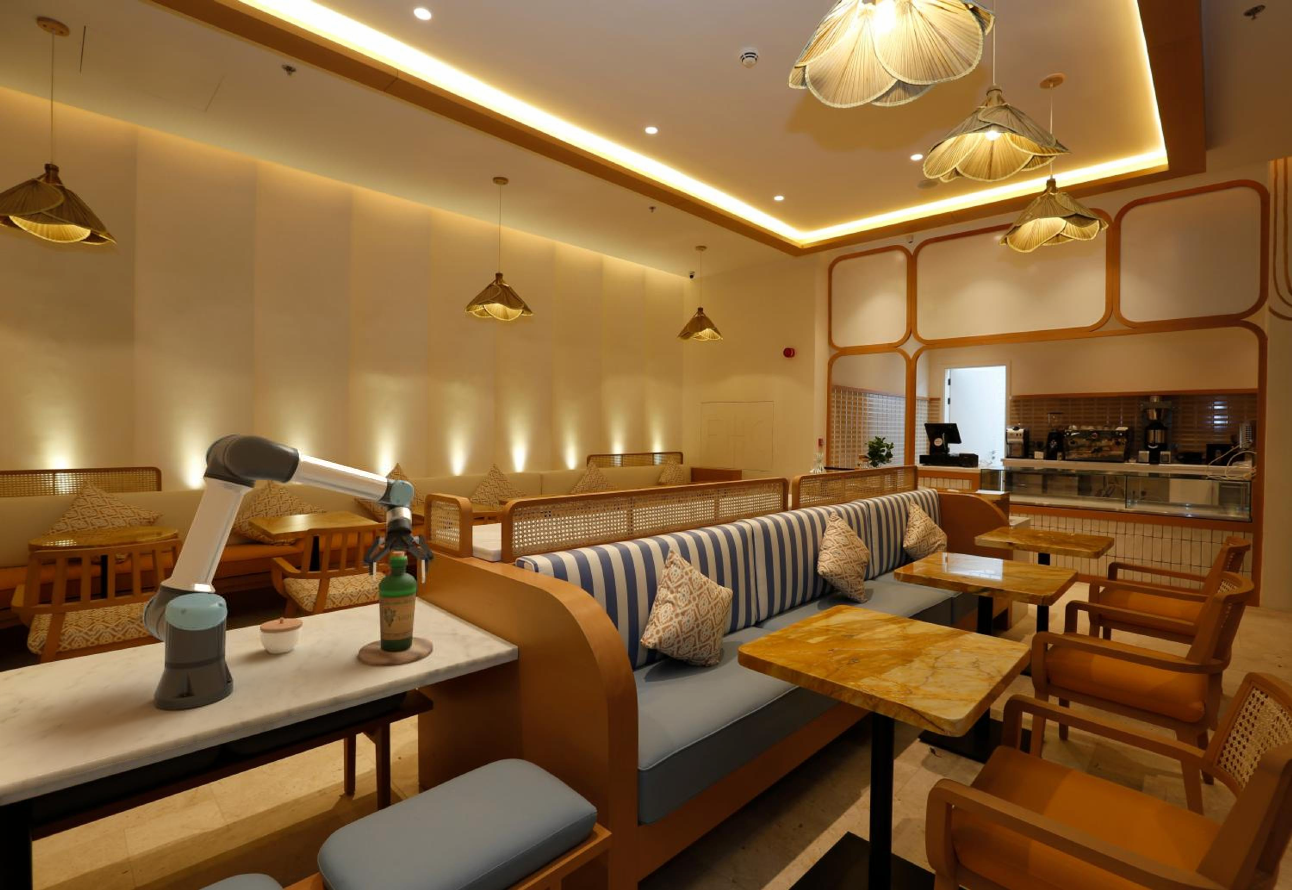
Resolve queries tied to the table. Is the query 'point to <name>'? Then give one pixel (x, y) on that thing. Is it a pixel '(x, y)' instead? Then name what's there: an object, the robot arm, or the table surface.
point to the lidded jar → (281, 634)
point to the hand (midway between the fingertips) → (399, 582)
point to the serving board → (395, 653)
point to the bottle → (397, 605)
